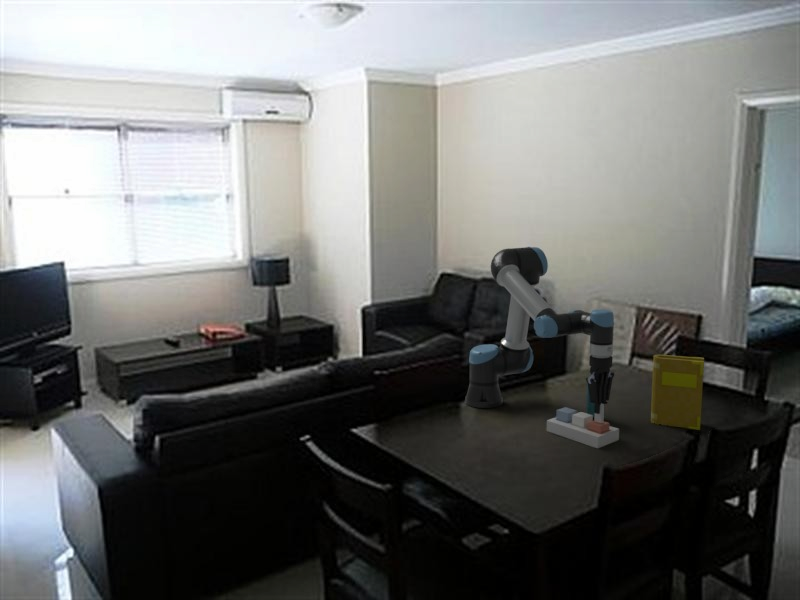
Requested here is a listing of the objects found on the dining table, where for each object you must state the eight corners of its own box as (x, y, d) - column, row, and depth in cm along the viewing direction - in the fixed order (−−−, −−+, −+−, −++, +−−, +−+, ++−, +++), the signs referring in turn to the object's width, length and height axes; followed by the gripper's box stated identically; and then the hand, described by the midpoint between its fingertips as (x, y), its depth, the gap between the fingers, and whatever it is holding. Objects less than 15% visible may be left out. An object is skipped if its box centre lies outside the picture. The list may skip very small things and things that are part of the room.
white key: (571, 428, 244) (572, 414, 244) (580, 425, 247) (581, 411, 247) (583, 432, 240) (583, 418, 240) (592, 428, 244) (592, 415, 243)
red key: (588, 436, 239) (588, 422, 238) (597, 432, 242) (597, 419, 241) (600, 440, 235) (600, 426, 234) (609, 436, 238) (609, 423, 237)
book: (700, 423, 253) (704, 357, 249) (699, 429, 247) (703, 362, 243) (651, 418, 260) (654, 353, 256) (649, 423, 254) (652, 358, 250)
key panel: (546, 430, 249) (546, 420, 249) (567, 423, 257) (568, 413, 256) (597, 448, 232) (597, 437, 231) (618, 439, 239) (619, 428, 239)
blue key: (556, 423, 250) (556, 410, 249) (565, 420, 253) (565, 407, 252) (567, 426, 246) (567, 413, 245) (576, 423, 249) (576, 410, 248)
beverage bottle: (604, 421, 258) (605, 369, 254) (585, 420, 259) (587, 369, 256) (602, 415, 264) (604, 365, 261) (584, 415, 265) (586, 364, 262)
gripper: (598, 360, 227) (596, 429, 231) (621, 354, 235) (619, 420, 239) (579, 356, 233) (578, 423, 237) (603, 350, 241) (601, 414, 245)
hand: (598, 421), depth 238 cm, fingers closed
